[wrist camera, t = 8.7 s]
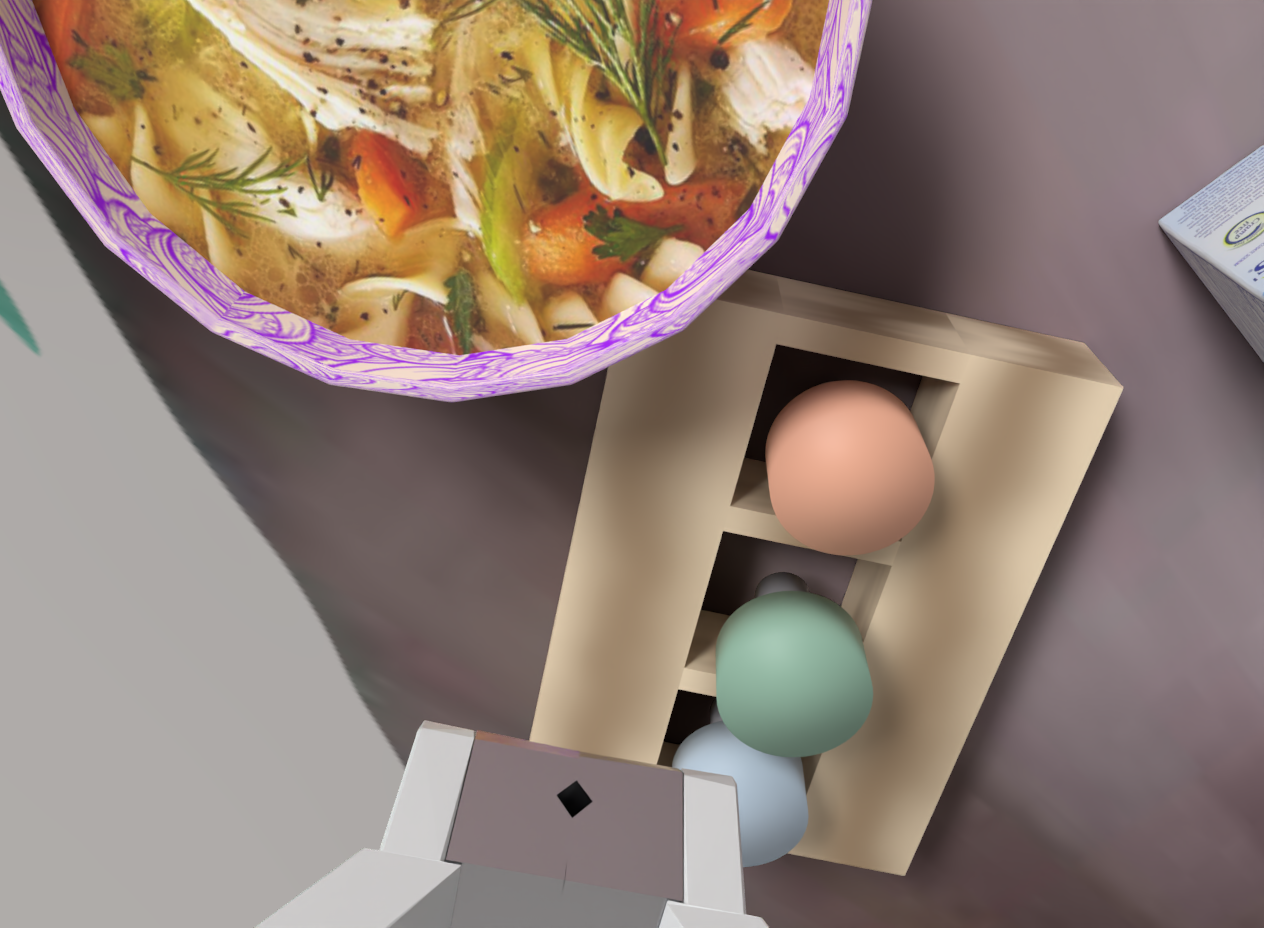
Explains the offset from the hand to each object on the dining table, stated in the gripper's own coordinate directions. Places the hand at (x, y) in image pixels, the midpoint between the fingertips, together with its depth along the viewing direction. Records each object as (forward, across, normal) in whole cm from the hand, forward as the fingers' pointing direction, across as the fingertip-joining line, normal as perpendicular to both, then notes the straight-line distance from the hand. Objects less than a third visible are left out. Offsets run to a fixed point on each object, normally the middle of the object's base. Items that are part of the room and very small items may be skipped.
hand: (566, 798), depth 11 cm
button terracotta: (+28, -8, +7) cm, 30 cm away
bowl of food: (+29, +6, -5) cm, 30 cm away
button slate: (+28, -8, +21) cm, 36 cm away
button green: (+26, -8, +14) cm, 31 cm away
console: (+29, -8, +14) cm, 33 cm away
